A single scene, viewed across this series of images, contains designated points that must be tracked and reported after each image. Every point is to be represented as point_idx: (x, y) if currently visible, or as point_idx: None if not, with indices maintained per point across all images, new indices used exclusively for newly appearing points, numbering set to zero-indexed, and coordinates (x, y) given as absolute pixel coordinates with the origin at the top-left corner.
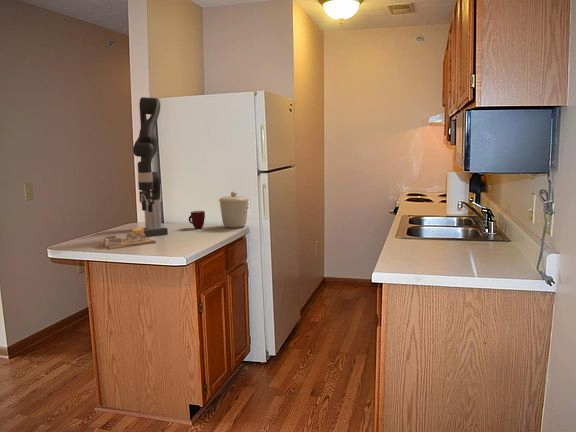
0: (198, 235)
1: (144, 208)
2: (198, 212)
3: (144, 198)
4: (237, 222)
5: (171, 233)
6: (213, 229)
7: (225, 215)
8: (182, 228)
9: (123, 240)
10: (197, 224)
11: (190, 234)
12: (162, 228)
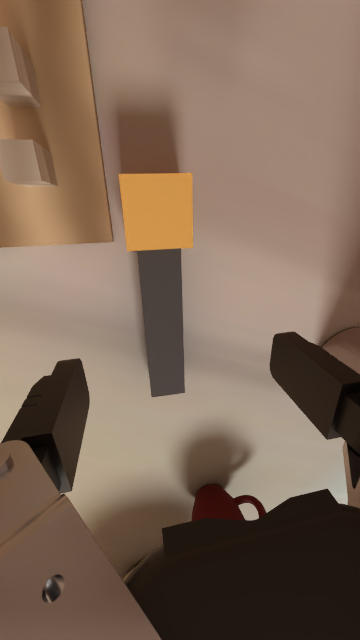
0: None
1: (285, 367)
2: None
3: (282, 565)
4: None
5: (170, 395)
6: (151, 525)
7: None
8: (252, 450)
9: (14, 22)
10: (195, 509)
11: (91, 451)
12: (163, 375)
